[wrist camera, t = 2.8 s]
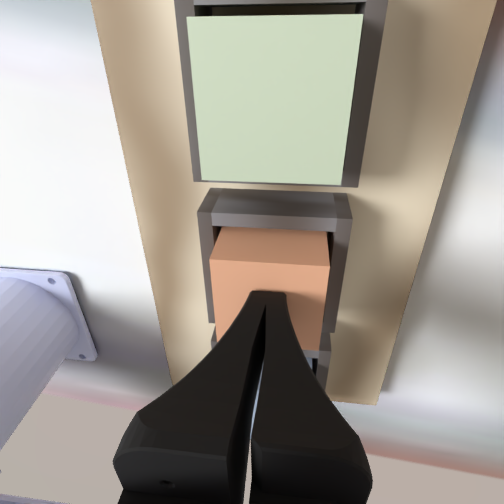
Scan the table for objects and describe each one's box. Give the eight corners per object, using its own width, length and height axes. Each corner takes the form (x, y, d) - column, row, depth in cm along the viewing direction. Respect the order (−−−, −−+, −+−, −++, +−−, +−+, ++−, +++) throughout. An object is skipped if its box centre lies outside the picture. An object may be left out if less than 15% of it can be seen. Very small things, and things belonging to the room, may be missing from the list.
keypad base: (178, 367, 26) (160, 417, 23) (98, -55, 13) (30, -79, 10) (372, 386, 25) (382, 442, 22) (498, -71, 12) (574, -105, 8)
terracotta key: (229, 297, 18) (217, 342, 16) (224, 220, 16) (209, 259, 13) (316, 303, 18) (318, 350, 15) (325, 225, 15) (330, 266, 13)
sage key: (220, 151, 14) (201, 180, 11) (211, 16, 12) (186, 16, 9) (333, 154, 14) (340, 185, 11) (349, 14, 11) (363, 14, 9)
